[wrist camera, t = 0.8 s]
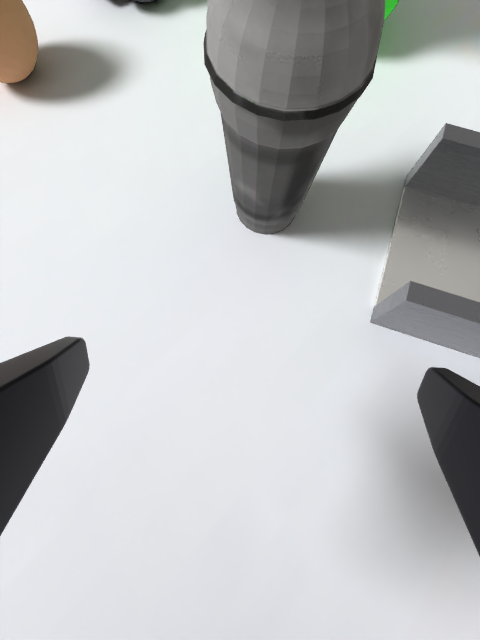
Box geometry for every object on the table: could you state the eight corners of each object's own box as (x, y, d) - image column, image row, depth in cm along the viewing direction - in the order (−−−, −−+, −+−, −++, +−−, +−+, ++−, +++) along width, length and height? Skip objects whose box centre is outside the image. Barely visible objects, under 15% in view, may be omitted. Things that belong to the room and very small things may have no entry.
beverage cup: (300, 158, 26) (482, -543, 7) (326, 240, 24) (669, -388, 5) (209, 175, 26) (126, -528, 6) (229, 260, 24) (198, -349, 5)
